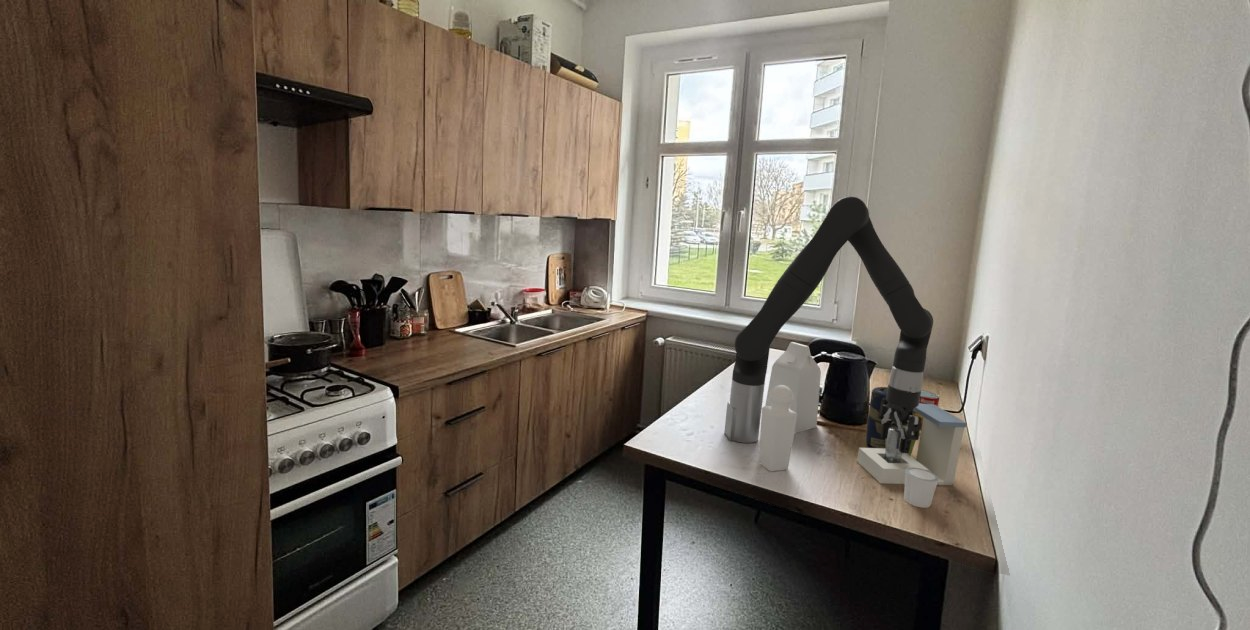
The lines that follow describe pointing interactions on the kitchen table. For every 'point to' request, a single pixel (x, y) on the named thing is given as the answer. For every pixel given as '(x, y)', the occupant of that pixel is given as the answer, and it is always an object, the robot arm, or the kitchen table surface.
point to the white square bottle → (777, 430)
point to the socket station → (922, 449)
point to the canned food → (927, 401)
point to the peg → (893, 446)
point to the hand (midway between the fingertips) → (894, 445)
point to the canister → (876, 419)
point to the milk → (798, 383)
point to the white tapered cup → (919, 487)
